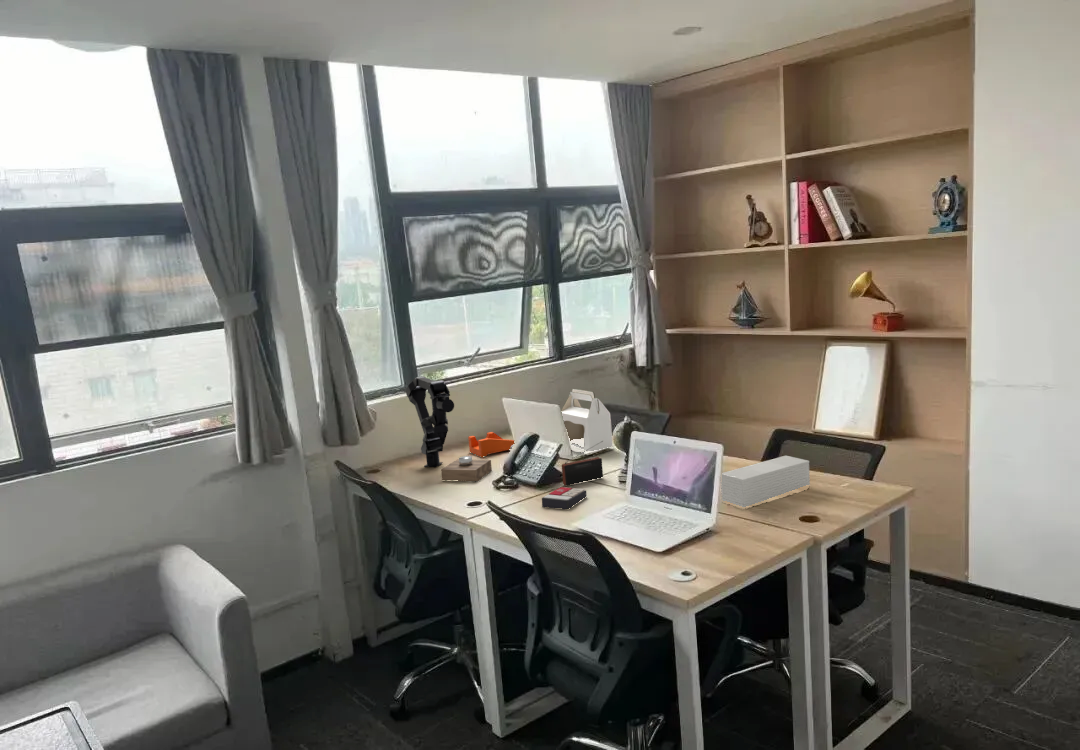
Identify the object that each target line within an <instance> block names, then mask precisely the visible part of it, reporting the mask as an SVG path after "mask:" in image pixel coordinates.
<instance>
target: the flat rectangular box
mask: <svg viewBox="0 0 1080 750" xmlns="http://www.w3.org/2000/svg"><path fill="white" fill-rule="evenodd" d="M586 496H587V490H585V488H572V487H566V486H565V487H562V486H561V487H558V488H557V489H555V490H553V491H551V492H549V493H548V494H547V495H545V496H543V497H541V508H545V507H549V508H548V509H555V508H562V509H561V510H565V509H569V508H570V509H572V508H573V507H574V506H576V505H577V504H579V503H580V502H579V501H580V500H582V499H583V498H585V497H586ZM586 498H587V497H586ZM586 498H585V499H586ZM582 501H583V500H582ZM578 502H579V503H578ZM576 503H577V504H576ZM575 504H576V505H575ZM573 505H574V506H573ZM572 506H573V507H572ZM571 507H572V508H571ZM570 509H569V510H570Z"/></svg>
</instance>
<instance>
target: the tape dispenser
mask: <svg viewBox="0 0 1080 750" xmlns="http://www.w3.org/2000/svg"><path fill="white" fill-rule="evenodd" d="M467 440H468V448H469V453H470V452H471V453H473V454H472V455H474V454H476V455H475V456H477V455H478V456H477V457H479V456H481V457H480V458H484V457H483V456H487V455H490V454H494V453H499V452H504V451H509V449H510V447H511V446H512V445H513V444H514V441H515V440H513V439H505V438H502V437H501V436H499V435H498V434H497V433H495V432H494V431H490V432H487V433H486V437H485V438H483V439H482V438H481V439H478V440H477V437H476V436H474V435H470V436H468V439H467ZM471 453H470V454H471ZM487 457H488V456H487Z"/></svg>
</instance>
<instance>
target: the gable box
mask: <svg viewBox="0 0 1080 750" xmlns="http://www.w3.org/2000/svg"><path fill="white" fill-rule="evenodd" d="M569 393H570V394H569V395H568V397H567V399H566V401H565V403H564V404H563V406H562V408H561V410H560V411H561V412H562V416H563V420H564V424H565V427H566V429H567V432H568V436H569V438H570V441H571V440H573V439H581V438H584V447H581V446H579V445H578V444H575V443H572V444H571V445H574V446H576V447H579V448H581V449H584V450H587V451H594V450H599V449H603V448H607V447H611V446H614V445H613V435H612V431H613V430H612V419H611V412H610V411H609V410H608V409H607V407H606V406H605V405H604V404H603V402H602V401H601V400H600V398H597V397H596V396H595V395H596V394H595V392H594V391H591V390H584V389H577V388H572V390H571V391H569ZM579 400H581V401H587V402H588V401H589V402H590V407H589V408H585V407H583V406H581V403H580V402H579ZM601 441H603V442H601ZM600 442H601V443H600ZM598 443H599V444H598ZM596 444H597V445H596ZM593 446H594V447H593ZM591 447H592V448H591ZM589 448H590V449H589ZM588 449H589V450H588Z"/></svg>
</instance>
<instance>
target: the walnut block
mask: <svg viewBox="0 0 1080 750" xmlns="http://www.w3.org/2000/svg"><path fill="white" fill-rule="evenodd" d="M472 462H473V464H472V465H470V466H460V465H459V458H457V459H455V460H454V461H452V462H450V463H449V464H448V465H445V467H442V468H441V469H440V475H441V481H442V480H458V481H457V482H465V481H477V482H478V481H480V480H481V479H483V478H484V477H486V476H487V475H488V474H489V472H490V473H492V460H491V459H474V458H472ZM486 474H487V475H486ZM482 477H483V478H482ZM479 479H480V480H479Z"/></svg>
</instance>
